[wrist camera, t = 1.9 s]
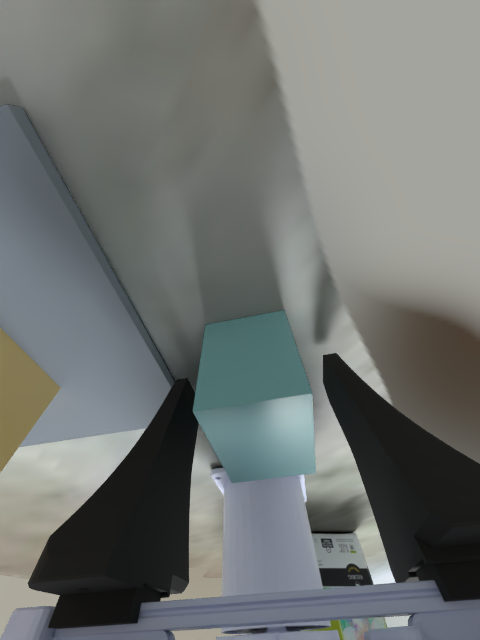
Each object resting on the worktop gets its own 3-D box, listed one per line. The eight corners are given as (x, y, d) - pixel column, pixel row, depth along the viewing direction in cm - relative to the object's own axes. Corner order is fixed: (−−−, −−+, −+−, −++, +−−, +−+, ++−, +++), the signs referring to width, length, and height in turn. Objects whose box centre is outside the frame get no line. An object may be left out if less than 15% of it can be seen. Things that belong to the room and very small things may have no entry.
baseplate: (192, 413, 16) (191, 421, 16) (9, 441, 18) (3, 449, 17) (22, 107, 7) (6, 104, 7) (-335, 212, 8) (-370, 216, 8)
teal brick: (293, 386, 15) (315, 473, 11) (231, 396, 16) (231, 483, 11) (284, 309, 12) (312, 393, 8) (205, 323, 12) (192, 411, 8)
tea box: (357, 529, 34) (428, 739, 22) (332, 547, 40) (377, 721, 28) (253, 529, 32) (267, 755, 20) (243, 548, 38) (249, 733, 26)
